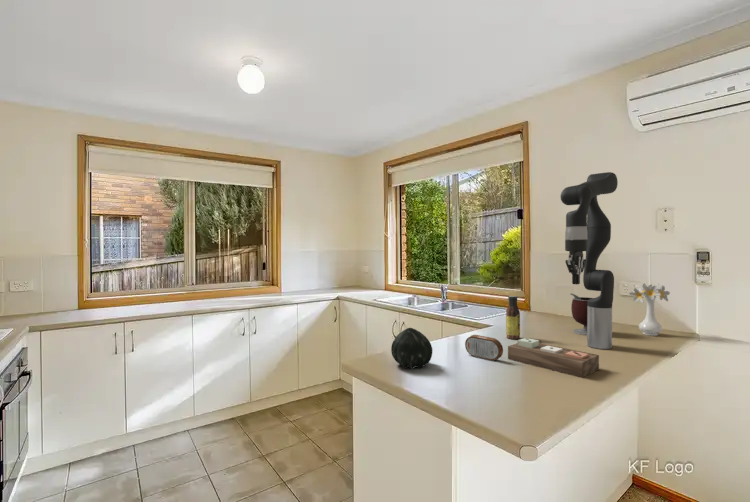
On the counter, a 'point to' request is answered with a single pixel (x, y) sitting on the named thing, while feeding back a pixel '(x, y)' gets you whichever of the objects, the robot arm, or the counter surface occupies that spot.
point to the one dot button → (551, 349)
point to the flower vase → (650, 307)
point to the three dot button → (577, 355)
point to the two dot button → (528, 343)
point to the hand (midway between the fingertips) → (575, 284)
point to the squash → (411, 349)
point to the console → (554, 360)
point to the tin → (484, 347)
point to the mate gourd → (580, 312)
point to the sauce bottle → (512, 319)
